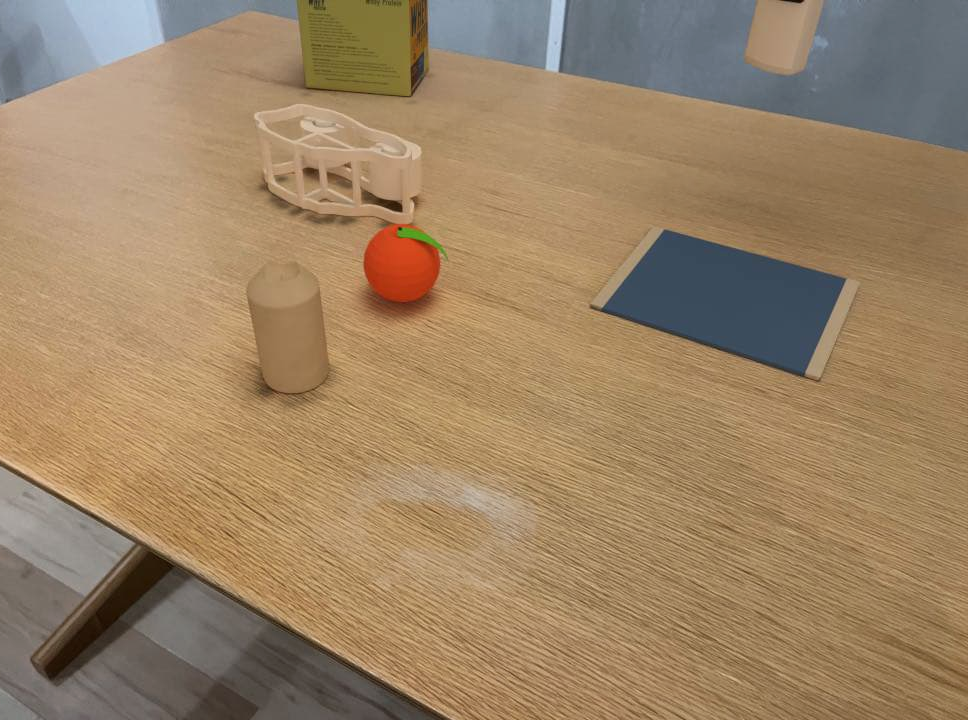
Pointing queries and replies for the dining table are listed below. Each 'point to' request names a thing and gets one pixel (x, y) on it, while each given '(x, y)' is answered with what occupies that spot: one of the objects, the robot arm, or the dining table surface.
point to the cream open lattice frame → (342, 163)
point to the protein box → (364, 44)
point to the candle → (288, 327)
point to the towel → (731, 300)
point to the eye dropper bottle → (782, 35)
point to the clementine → (402, 262)
